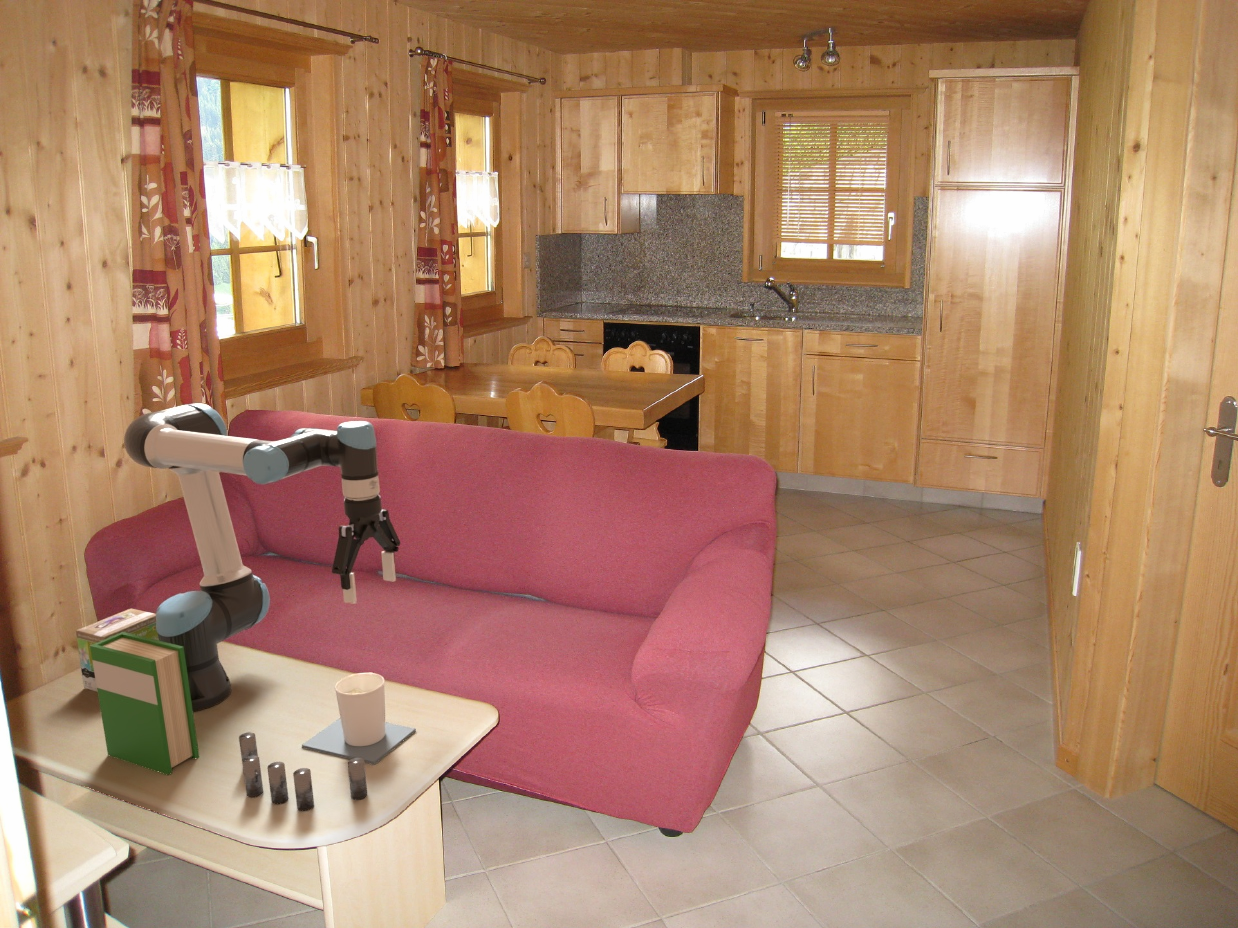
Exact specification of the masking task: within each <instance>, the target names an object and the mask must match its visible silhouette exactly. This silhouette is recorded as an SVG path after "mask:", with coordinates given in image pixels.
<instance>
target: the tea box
mask: <svg viewBox="0 0 1238 928" xmlns="http://www.w3.org/2000/svg"><path fill="white" fill-rule="evenodd" d="M121 632H126V633H130V634H134V635H138V636H142V637H146V638H150V639H154V640H158V641H159V638H158V632H157V630H156V613H153V612H149V611H144V610H140V609H136V608H128V609H126V610H123V611H121V612H118V613H116V614H113V615H111V616H108V617H106V618H104V619H101V620H99V621H98V620H97V621H95V622H93V623H91V624H89V625H86V626H83V627H80V628H78V629H76V630H75V634H76V641H77V648H78V649H77V650H78V656H79V664H80V668H81V669H80V671H81V678H82V684H83V688H84V689H87V690H91V691H93V692H97V693H98V691H97V685H96V679H95V673H94V667H93V661H92V655H91V649H90V646H91V645H93V644H95V643H98V642H100V641H103V640H105V639H107V638H110V637H112V636H114V635H117V634H119V633H121Z"/></svg>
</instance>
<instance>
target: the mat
mask: <svg viewBox="0 0 1238 928" xmlns="http://www.w3.org/2000/svg"><path fill="white" fill-rule="evenodd" d="M385 726H386V732H385V736H384V738H383V739H382V740H380V741H379V742H377V743H375V744H372V745H368V746H351V745H349V744H347V743H346V742H345V740H344V736H343V730H342V725H341V719H340V717H339V718H338V719H336V720H335V721H333V722H332V723H331V724H329V725H327V726H326V727H325V728H324V729H322V730H321V731H319V732H318V733H316V734H314V735H313V736H312V737H311V738H309V739H308V740H306V741H305V742H304V743H303V744H301V748H303V749H306V750H311V751H314V752H318V751H319V753H324V754H328V755H331V756H335V757H339V758H340V757H341V758H344V759H347V760H348V759H349V760H351V759H353V758H362V759H364V763H366V764H370V765H376V764H377V763H379V762H380V761H381V760H382V759H383V758H385V757H386V756H387V755H388V754H390V753H391V752H392V751H393V750H395V749H396V748H397V747H398V746H400V745H401V744H403V742H404V741H406V740H407V739H408V738H409V737H410V735H411V736H412V735H413V734H414V733H415V732H416V731H417V730H416V728H414V727H410V726H405V725H402V724H401V725H400V724H397V723H392V722H386V721H385ZM412 733H413V734H412ZM407 737H408V738H407ZM405 739H406V740H405ZM403 740H404V741H403ZM400 743H401V744H400ZM394 748H395V749H394Z"/></svg>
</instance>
